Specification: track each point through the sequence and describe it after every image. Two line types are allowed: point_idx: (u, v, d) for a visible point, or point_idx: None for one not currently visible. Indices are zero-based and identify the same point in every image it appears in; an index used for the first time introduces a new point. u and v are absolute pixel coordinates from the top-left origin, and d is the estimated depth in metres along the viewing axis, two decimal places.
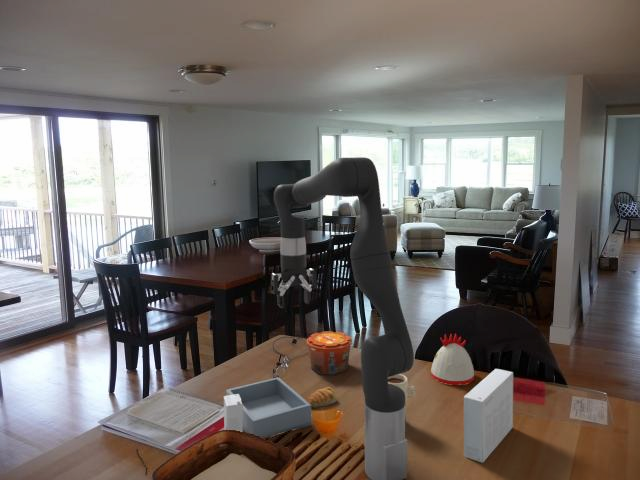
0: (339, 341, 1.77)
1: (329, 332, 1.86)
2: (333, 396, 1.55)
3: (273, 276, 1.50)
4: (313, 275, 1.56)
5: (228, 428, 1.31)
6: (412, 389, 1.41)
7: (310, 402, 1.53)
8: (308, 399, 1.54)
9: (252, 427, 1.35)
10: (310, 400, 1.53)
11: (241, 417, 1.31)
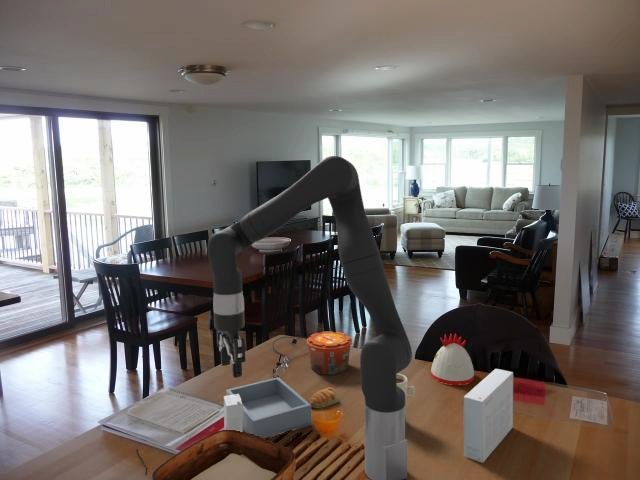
0: (339, 341, 1.77)
1: (329, 332, 1.86)
2: (335, 396, 1.55)
3: (241, 341, 1.24)
4: None
5: (228, 428, 1.31)
6: (412, 389, 1.41)
7: (312, 403, 1.52)
8: (310, 400, 1.54)
9: (252, 427, 1.35)
10: (312, 401, 1.53)
11: (241, 417, 1.31)
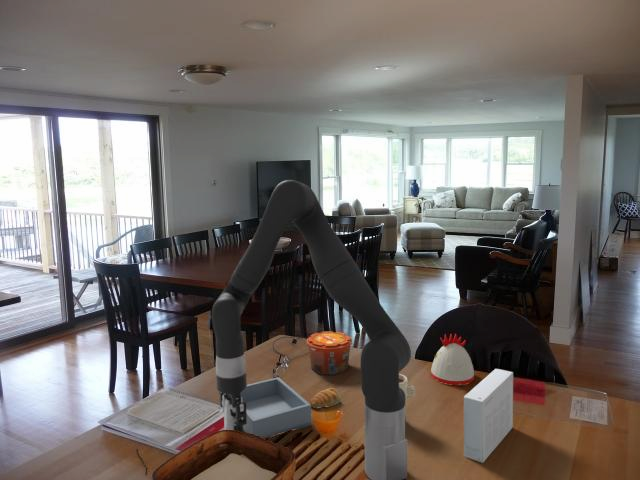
0: (339, 341, 1.77)
1: (329, 332, 1.86)
2: (336, 397, 1.55)
3: (243, 406, 1.27)
4: None
5: (228, 428, 1.31)
6: (412, 389, 1.41)
7: (314, 403, 1.52)
8: (312, 400, 1.53)
9: (252, 427, 1.35)
10: (314, 401, 1.52)
11: None
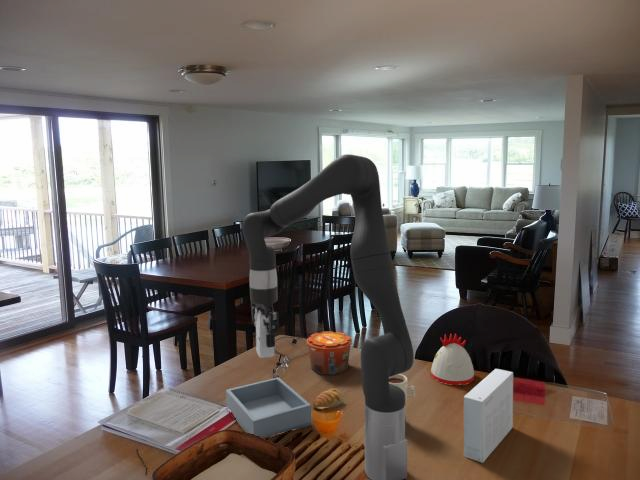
0: (339, 341, 1.77)
1: (329, 332, 1.86)
2: (339, 397, 1.54)
3: (276, 315, 1.37)
4: None
5: (261, 337, 1.41)
6: (412, 389, 1.41)
7: (317, 404, 1.51)
8: (315, 401, 1.53)
9: (252, 427, 1.35)
10: (317, 402, 1.52)
11: None
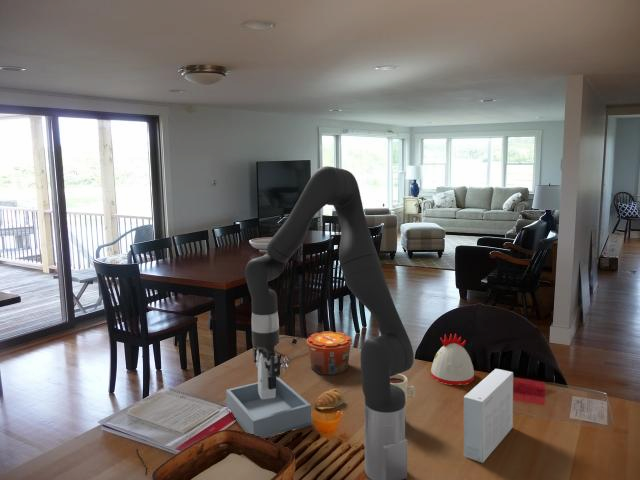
0: (339, 341, 1.77)
1: (329, 332, 1.86)
2: (341, 398, 1.54)
3: (277, 358, 1.39)
4: None
5: (262, 379, 1.43)
6: (412, 389, 1.41)
7: (319, 405, 1.51)
8: (316, 402, 1.52)
9: (252, 427, 1.35)
10: (319, 403, 1.51)
11: None
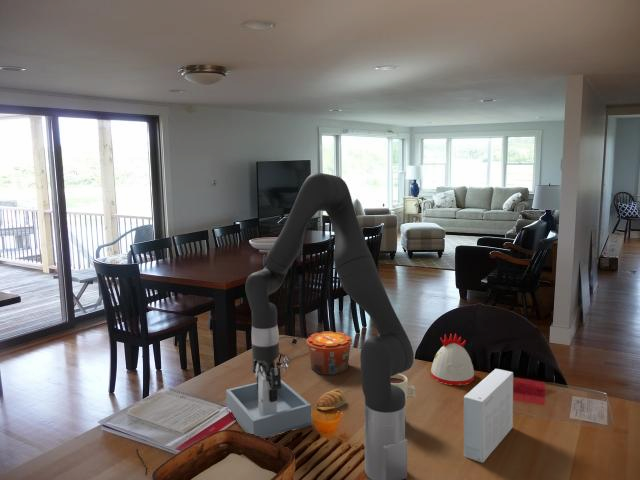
0: (339, 341, 1.77)
1: (329, 332, 1.86)
2: (342, 398, 1.54)
3: (277, 370, 1.40)
4: None
5: (264, 400, 1.43)
6: (412, 389, 1.41)
7: (321, 405, 1.51)
8: (318, 403, 1.52)
9: (252, 427, 1.35)
10: (321, 403, 1.51)
11: None
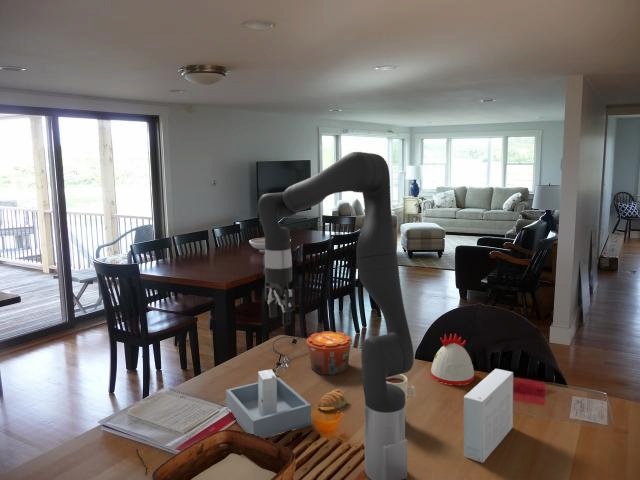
0: (339, 341, 1.77)
1: (329, 332, 1.86)
2: (344, 398, 1.54)
3: (291, 292, 1.40)
4: None
5: (264, 400, 1.43)
6: (412, 389, 1.41)
7: (323, 406, 1.50)
8: (320, 403, 1.52)
9: (252, 427, 1.35)
10: (322, 404, 1.51)
11: (275, 390, 1.44)
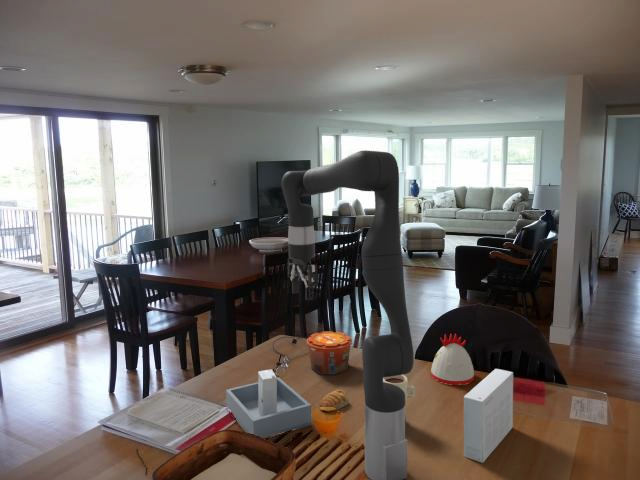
0: (339, 341, 1.77)
1: (329, 332, 1.86)
2: (345, 398, 1.54)
3: (314, 267, 1.43)
4: None
5: (264, 400, 1.43)
6: (412, 389, 1.41)
7: (324, 406, 1.50)
8: (321, 403, 1.51)
9: (252, 427, 1.35)
10: (324, 404, 1.51)
11: (275, 390, 1.44)
